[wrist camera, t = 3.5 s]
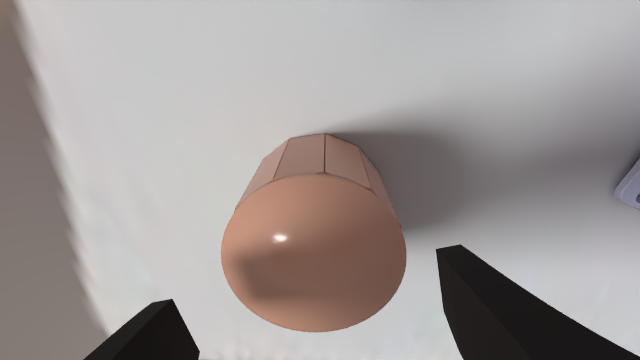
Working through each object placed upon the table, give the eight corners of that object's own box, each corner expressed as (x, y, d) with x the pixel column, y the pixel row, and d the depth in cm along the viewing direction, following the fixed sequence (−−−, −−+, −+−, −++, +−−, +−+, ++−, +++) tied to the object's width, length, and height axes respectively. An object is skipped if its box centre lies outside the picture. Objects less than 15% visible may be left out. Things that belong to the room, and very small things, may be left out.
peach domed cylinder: (403, 163, 14) (441, 218, 10) (350, 265, 16) (359, 350, 12) (277, 113, 14) (251, 147, 9) (238, 227, 16) (201, 302, 11)
